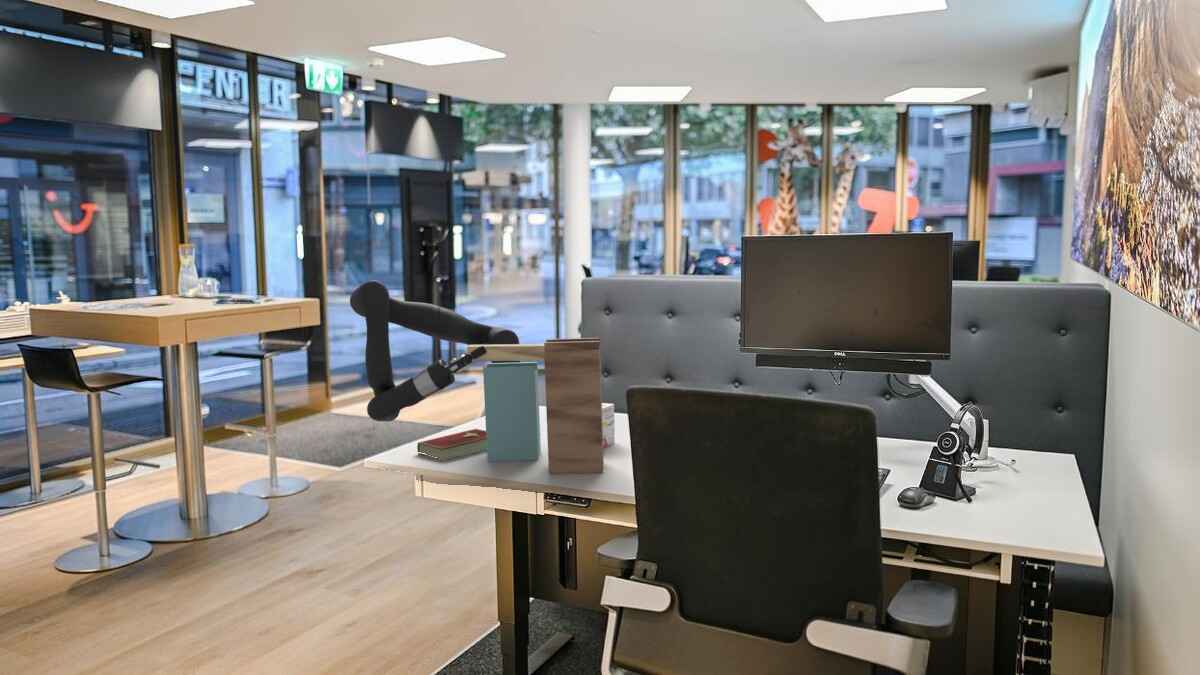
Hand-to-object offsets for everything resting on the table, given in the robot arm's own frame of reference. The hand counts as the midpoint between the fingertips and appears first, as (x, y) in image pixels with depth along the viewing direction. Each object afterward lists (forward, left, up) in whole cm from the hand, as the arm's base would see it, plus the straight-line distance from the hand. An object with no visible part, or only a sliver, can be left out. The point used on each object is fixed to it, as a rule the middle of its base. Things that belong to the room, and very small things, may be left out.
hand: (486, 347), depth 237 cm
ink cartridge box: (-11, +31, -31) cm, 45 cm away
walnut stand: (+13, +25, -31) cm, 42 cm away
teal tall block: (0, +7, -31) cm, 32 cm away
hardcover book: (-10, -11, -32) cm, 35 cm away
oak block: (0, +7, -4) cm, 8 cm away
